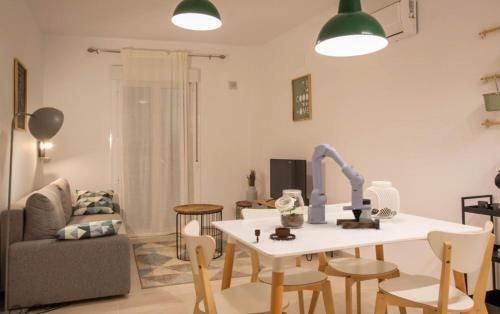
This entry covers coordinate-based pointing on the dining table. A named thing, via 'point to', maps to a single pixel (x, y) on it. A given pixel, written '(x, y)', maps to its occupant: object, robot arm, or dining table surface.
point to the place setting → (279, 234)
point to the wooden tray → (358, 224)
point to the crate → (365, 219)
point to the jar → (366, 212)
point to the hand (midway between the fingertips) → (356, 223)
